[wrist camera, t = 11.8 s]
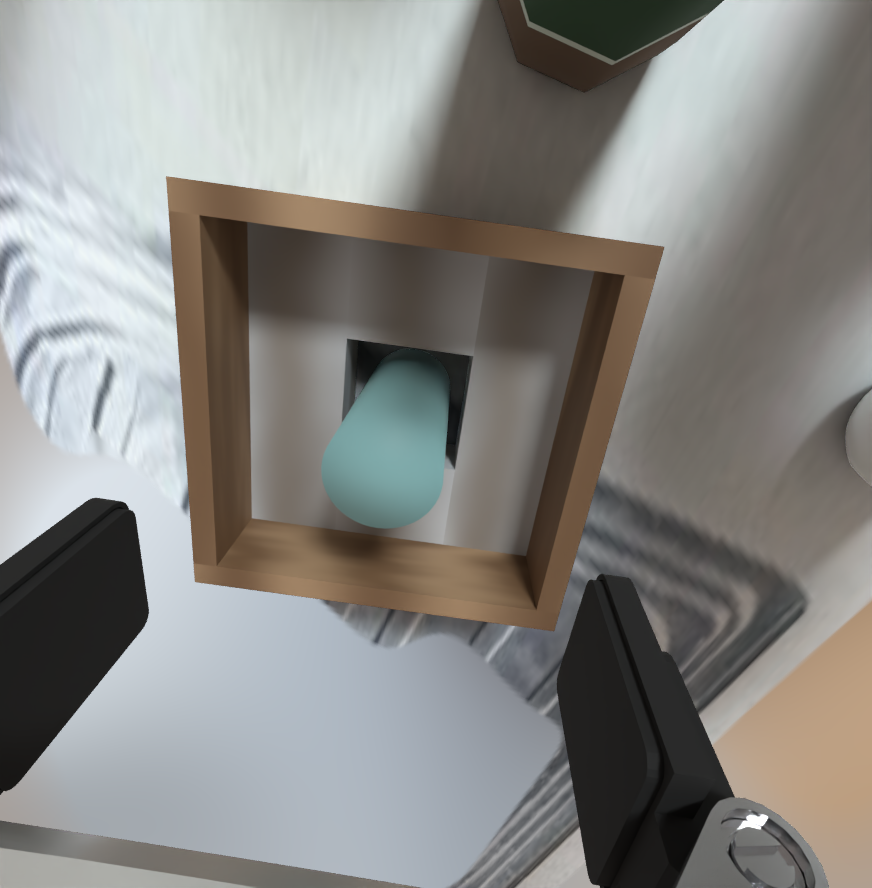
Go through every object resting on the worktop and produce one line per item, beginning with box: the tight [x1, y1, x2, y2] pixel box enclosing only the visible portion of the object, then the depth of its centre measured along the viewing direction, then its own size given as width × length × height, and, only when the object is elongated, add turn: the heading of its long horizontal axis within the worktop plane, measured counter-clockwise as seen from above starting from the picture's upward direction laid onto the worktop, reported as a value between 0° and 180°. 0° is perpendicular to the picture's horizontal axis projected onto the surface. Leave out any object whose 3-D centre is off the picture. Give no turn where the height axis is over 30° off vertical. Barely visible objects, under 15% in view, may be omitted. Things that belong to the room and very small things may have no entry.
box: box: [166, 176, 664, 631], centre depth 23 cm, size 16×16×7 cm
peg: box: [321, 349, 450, 529], centre depth 21 cm, size 4×4×10 cm
